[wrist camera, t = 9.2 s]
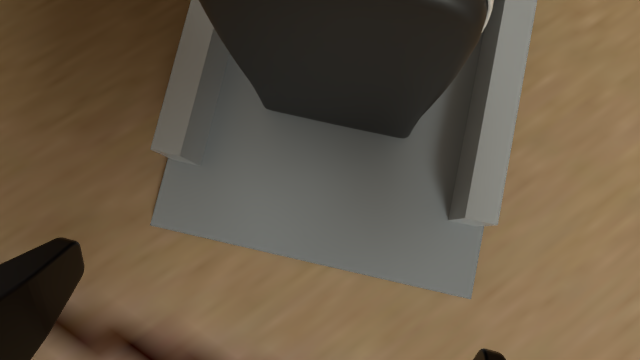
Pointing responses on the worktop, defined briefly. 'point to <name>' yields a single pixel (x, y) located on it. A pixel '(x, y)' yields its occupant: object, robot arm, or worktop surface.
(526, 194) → the worktop surface
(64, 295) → the robot arm
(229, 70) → the tray
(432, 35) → the battery charger
